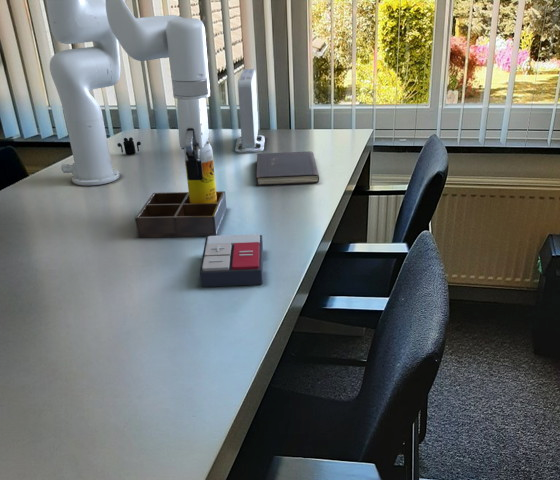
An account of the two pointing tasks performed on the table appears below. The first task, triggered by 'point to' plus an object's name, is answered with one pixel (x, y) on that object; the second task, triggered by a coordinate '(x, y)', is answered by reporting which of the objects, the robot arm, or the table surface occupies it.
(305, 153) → the hardcover book
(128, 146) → the wireless earbuds
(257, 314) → the table surface
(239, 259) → the calculator
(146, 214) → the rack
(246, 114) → the network device
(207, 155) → the beer can
